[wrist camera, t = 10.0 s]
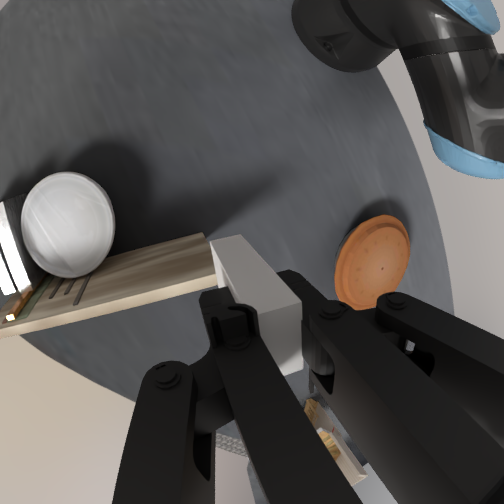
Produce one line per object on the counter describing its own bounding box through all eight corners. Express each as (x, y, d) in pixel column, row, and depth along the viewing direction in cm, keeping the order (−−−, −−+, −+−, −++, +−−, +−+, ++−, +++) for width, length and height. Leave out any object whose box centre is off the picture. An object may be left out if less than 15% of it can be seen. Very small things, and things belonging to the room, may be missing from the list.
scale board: (21, 282, 28) (-17, 331, 17) (202, 230, 33) (223, 269, 23) (25, 289, 28) (-12, 341, 17) (203, 239, 34) (225, 282, 23)
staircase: (318, 400, 54) (380, 487, 31) (276, 430, 53) (326, 519, 31) (301, 388, 50) (369, 488, 27) (256, 420, 50) (307, 523, 27)
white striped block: (-4, 206, 23) (-24, 215, 19) (6, 201, 24) (-13, 209, 19) (20, 277, 27) (4, 295, 23) (30, 274, 28) (15, 291, 23)
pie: (334, 202, 38) (356, 210, 34) (404, 216, 43) (425, 224, 39) (311, 302, 43) (327, 318, 38) (381, 298, 48) (398, 310, 43)
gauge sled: (14, 197, 24) (-35, 219, 14) (26, 192, 24) (-23, 212, 15) (39, 275, 28) (5, 321, 18) (51, 272, 28) (18, 318, 19)
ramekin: (28, 240, 27) (11, 254, 22) (56, 154, 25) (39, 155, 20) (102, 275, 31) (94, 294, 26) (136, 191, 30) (131, 198, 25)
